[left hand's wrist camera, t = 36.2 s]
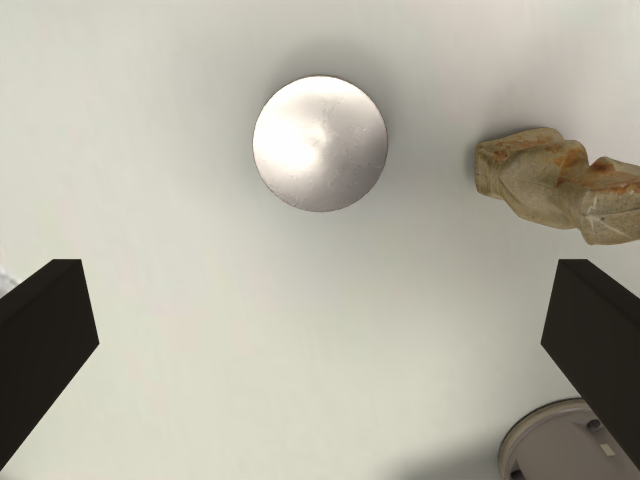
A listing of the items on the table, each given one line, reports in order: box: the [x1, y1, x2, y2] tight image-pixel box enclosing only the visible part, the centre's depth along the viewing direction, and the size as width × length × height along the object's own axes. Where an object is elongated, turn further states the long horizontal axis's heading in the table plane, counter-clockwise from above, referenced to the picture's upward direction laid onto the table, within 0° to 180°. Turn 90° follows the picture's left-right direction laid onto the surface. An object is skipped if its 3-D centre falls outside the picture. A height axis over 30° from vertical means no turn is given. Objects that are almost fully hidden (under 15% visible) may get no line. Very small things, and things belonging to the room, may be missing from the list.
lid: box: [253, 75, 388, 212], centre depth 36 cm, size 10×10×2 cm
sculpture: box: [475, 128, 640, 245], centre depth 30 cm, size 6×7×15 cm
